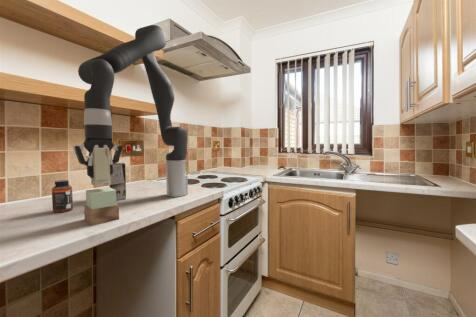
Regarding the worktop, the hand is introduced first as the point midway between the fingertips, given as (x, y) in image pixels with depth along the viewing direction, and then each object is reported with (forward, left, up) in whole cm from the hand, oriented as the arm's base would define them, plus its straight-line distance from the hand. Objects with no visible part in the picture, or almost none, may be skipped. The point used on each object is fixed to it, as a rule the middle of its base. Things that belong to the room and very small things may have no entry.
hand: (100, 176), depth 72 cm
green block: (0, +1, -9) cm, 10 cm away
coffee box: (-14, -27, -14) cm, 34 cm away
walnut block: (0, 0, -14) cm, 14 cm away
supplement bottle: (+7, -21, -14) cm, 26 cm away
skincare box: (0, 0, -3) cm, 3 cm away
